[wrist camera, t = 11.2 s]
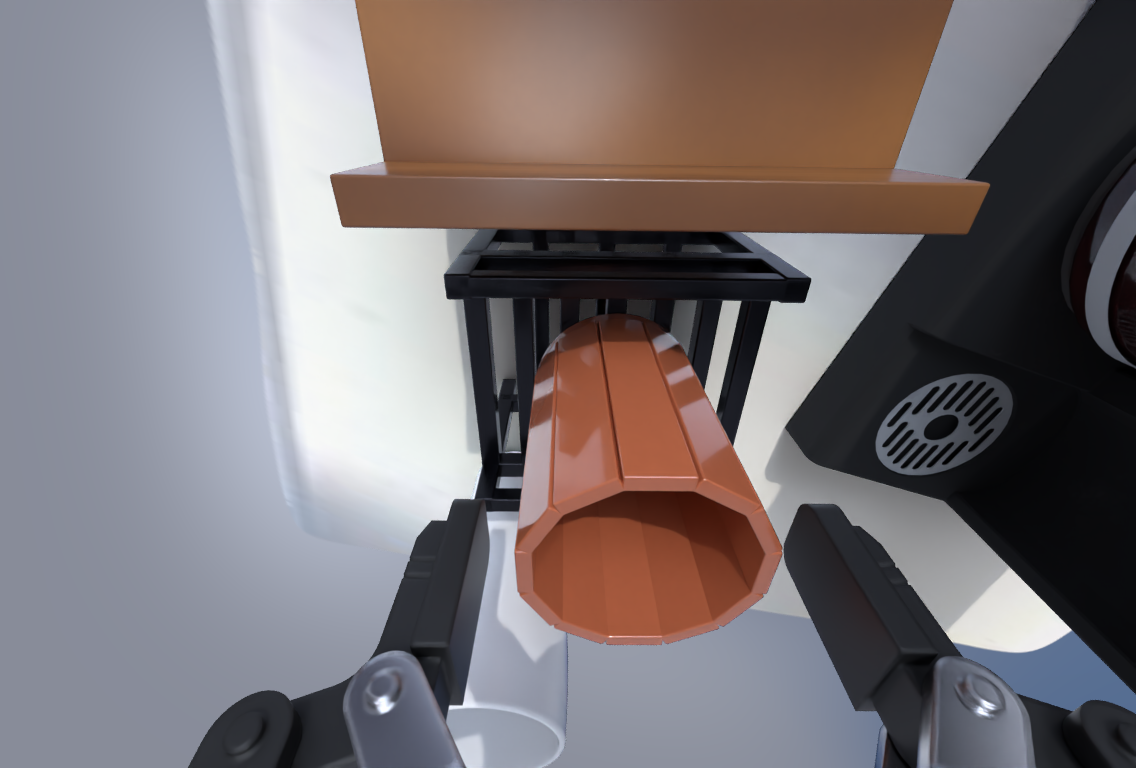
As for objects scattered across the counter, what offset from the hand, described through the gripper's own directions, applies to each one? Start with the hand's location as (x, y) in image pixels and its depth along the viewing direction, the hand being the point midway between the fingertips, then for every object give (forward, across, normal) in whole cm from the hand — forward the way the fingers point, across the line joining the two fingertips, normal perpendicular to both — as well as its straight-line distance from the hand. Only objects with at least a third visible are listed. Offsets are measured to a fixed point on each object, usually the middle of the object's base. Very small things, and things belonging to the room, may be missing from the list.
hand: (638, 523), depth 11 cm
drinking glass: (+15, +5, +12) cm, 20 cm away
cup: (+7, 0, 0) cm, 7 cm away
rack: (+14, 0, 0) cm, 15 cm away
